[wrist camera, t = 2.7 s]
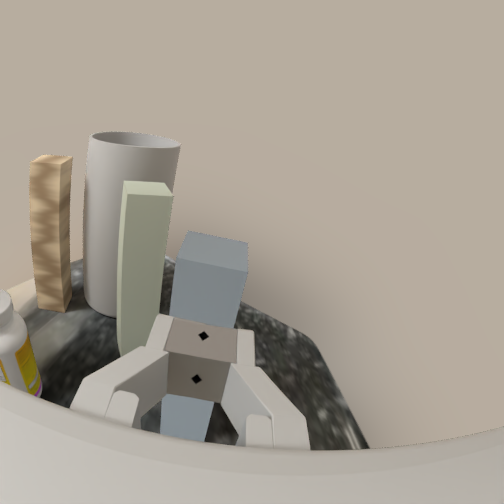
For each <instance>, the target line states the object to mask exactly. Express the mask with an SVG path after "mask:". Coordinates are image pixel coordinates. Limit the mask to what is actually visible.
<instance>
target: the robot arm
mask: <svg viewBox="0 0 504 504" xmlns="http://www.w3.org/2000/svg"><path fill="white" fill-rule="evenodd" d="M166 394H172V395H178V396H184V397H190V398H196V399H201V400H206V401H212V402H217V403H221V406H222V408H223V409H224V411H225V413H226V414H227V416H228V418H229V419H230V421H231V423H232V425H233V426H234V428H235V430H236V431H237V433H238V434H239V438H238V440H237V443H236V445H235V446H232V445H224V444H216V443H209V442H202V441H196V440H190V439H184V438H178V437H173V436H168V435H163V434H158V433H154V432H149V431H145V430H141V423H140V418H141V417H142V416H143V415H144V414H146V413H147V412H148V411H149V410H150V409H151V408H152V407H153V406H154V405H156V404H157V403H158V402H159V401H160V400H161V399H162V398H163V397H165V396H166ZM0 504H504V426H503V427H500V428H496V429H493V430H489V431H485V432H480V433H476V434H472V435H467V436H462V437H457V438H452V439H447V440H441V441H435V442H429V443H422V444H415V445H406V446H397V447H387V448H375V449H359V450H310V443H309V437H308V431H307V424H306V418H305V417H304V416H303V415H302V414H301V412H300V411H299V410H298V409H297V408H296V407H295V406H294V405H293V404H292V403H291V402H290V400H289V399H288V398H287V397H286V396H285V395H284V394H283V393H282V392H281V391H280V389H279V388H278V387H277V386H276V385H275V384H274V383H273V382H272V380H271V379H270V378H269V377H268V376H267V375H266V374H265V372H264V371H263V370H262V369H261V368H260V367H255V345H254V332H253V331H252V330H245V329H234V328H228V327H222V326H216V325H211V324H206V323H201V322H196V321H192V320H187V319H182V318H178V317H173V316H168V315H163V314H158V315H157V317H156V319H155V322H154V324H153V327H152V330H151V333H150V335H149V338H148V341H147V343H146V346H145V347H144V346H140V347H138V348H136V349H134V350H133V351H131V352H129V353H127V354H126V355H124V356H122V357H120V358H119V359H117V360H115V361H113V362H112V363H110V364H108V365H106V366H105V367H103V368H101V369H99V370H98V371H96V372H94V373H92V374H90V375H89V376H87V377H85V378H83V381H82V383H81V385H80V387H79V389H78V391H77V393H76V395H75V397H74V400H73V402H72V404H71V406H70V408H69V409H68V408H65V407H63V406H60V405H57V404H54V403H52V402H49V401H46V400H44V399H41V398H39V397H36V396H34V395H31V394H29V393H27V392H24V391H22V390H20V389H17V388H15V387H13V386H11V385H8V384H6V383H4V382H2V381H0Z"/></svg>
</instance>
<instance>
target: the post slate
mask: <svg viewBox="0 0 504 504" xmlns="http://www.w3.org/2000/svg"><path fill="white" fill-rule="evenodd" d="M247 274H248V243H246V242H241V241H237V240H232V239H227V238H221V237H217V236H212V235H207V234H203V233H198V232H192V231H188V232H187V234H186V237H185V239H184V241H183V243H182V246H181V248H180V251H179V253H178V256H177V257H176V264H175V272H174V279H173V287H172V295H171V304H170V313H169V316H173V317H178V318H182V319H187V320H192V321H196V322H201V323H206V324H211V325H216V326H222V327H228V328H234V324H235V321H236V317H237V313H238V309H239V305H240V301H241V297H242V293H243V290H244V286H245V282H246V278H247ZM213 405H214V402H212V401H206V400H201V399H196V398H190V397H184V396H178V395H172V394H166V396H165V397H163V398H162V408H161V427H160V434H163V435H168V436H173V437H178V438H184V439H190V440H196V441H202V442H204V440H205V436H206V432H207V428H208V424H209V421H210V417H211V413H212V409H213Z"/></svg>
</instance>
